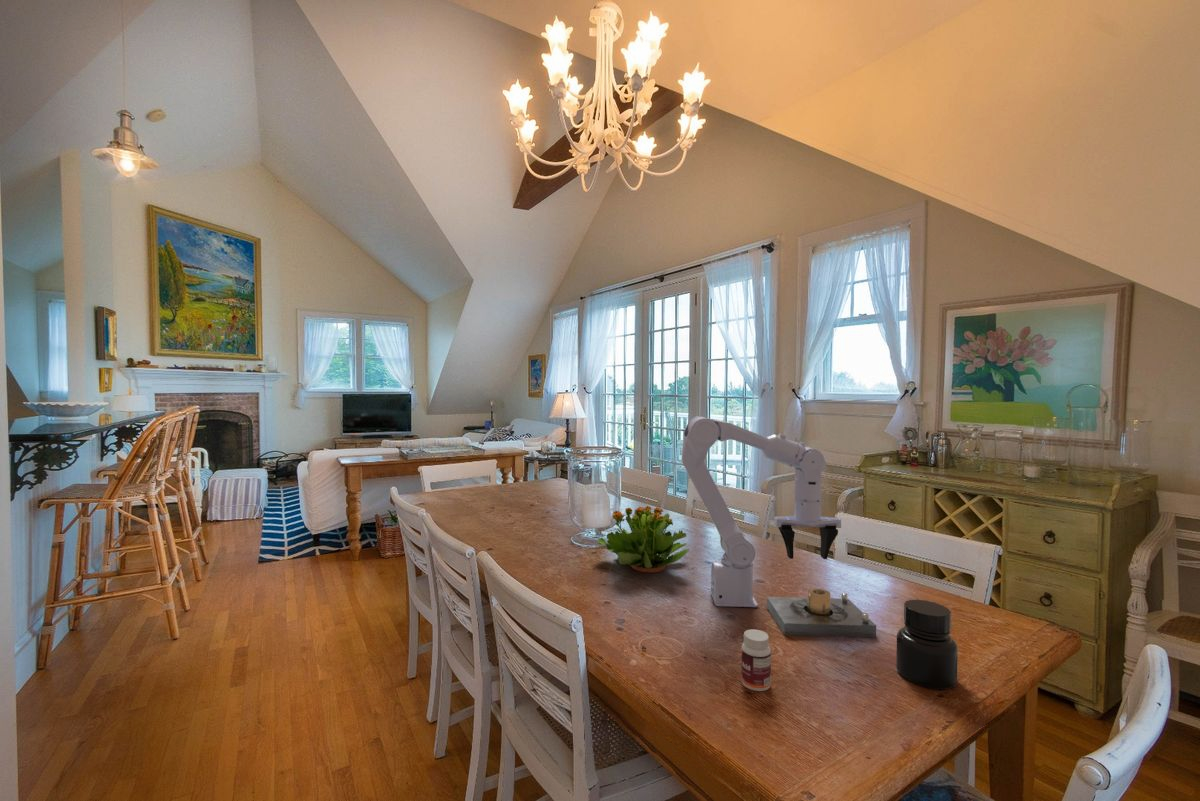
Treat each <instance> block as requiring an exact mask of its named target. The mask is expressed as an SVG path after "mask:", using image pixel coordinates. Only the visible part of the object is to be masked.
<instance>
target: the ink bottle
mask: <svg viewBox="0 0 1200 801" xmlns="http://www.w3.org/2000/svg"><path fill="white" fill-rule="evenodd" d="M903 624H904V626H902V627H901V628H899V629H898V631H897V633H896V651H895V652H896V661H895V666H896V670H897V672H898V673H899V674H900V675H901V676H902V677H904V678H905V679H907V680H908V681H911V682H912V683H914V684H917V685H919V686H921V687H924V688H927V689H933V690H948V689H952V688H954V687H955V686H956V685H957V684H958V676H959V675H958V674H959V671H958V668H959V667H958V663H959V647H958V644H957V642H956V641H955V640H954V638H952V637H951V631H952V630H951V629H952V611H951V610H950V609H949V608H948V607H946V606H945V605H942V604H940V603H937V602H934V601H930V600H922V599H908V600H905V602H904V604H903Z"/></svg>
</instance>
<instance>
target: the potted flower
mask: <svg viewBox="0 0 1200 801" xmlns="http://www.w3.org/2000/svg"><path fill="white" fill-rule="evenodd" d="M663 512H664V511H663V509H662V508H661V507H658V506H657V507H655V508H653V512H652V506H650V505H646V506H644V507H641V506H638V507H637V508H635V509H634V512H633V509H632V508H631V507H629V506H628V507H627V508H625V513H626V517H625V518H624V516H625V515H624V514H623V513H622V511H619V510H615V511H613V513H612V519H614V520H615V525H616V526H617V530H618V531H617V530H616V531H615V533H614V532H612V531H611V532H610V533H609V532H608V533H606V539H607V541H606V540H605V539H604V538H603V537H600V538H598V540H597V544H599V545H601V546H606V549H607V550H608V551H610V553H613V554H615V555H617V560H618V563H619V565H629V566H630V567H631V568H632V569H633V570H635V571H638V572H642V573H650V574H651V573H659V572H662V571H663V570H665V569H666V566H668V565H671V564H674V563H675V562H678V561H679V560H681V559H682V558H683V557H684V556H685V555H687V553H689V552H690V548H685V549H682V550H679V549H680V548H683V547H685V546H687V545H688V543H687V542H685V543H681V542H676V541H678V540H680V539H685V538H686V537H687V533H686V532H684V531H683V529H679V530H678V532H676V530H675V531H674V532H673V534H672V532H671V531H667V529H668V528H669V526H670V525H672V526H673V525H674V523H673V522H674V521H673V518H670V514H669V513H665V514H664V515H663ZM631 515H632V517H631ZM625 521H626V522H627V524H628V526H629V528H630V531H631V532H628V531H627V530H626V529H625V528H624V527H622V525H621V522H625ZM666 531H667V532H666ZM675 542H676V543H675ZM677 550H679V551H678V552H676V553H674V552H675V551H677ZM672 553H674V554H672Z"/></svg>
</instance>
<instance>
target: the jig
mask: <svg viewBox="0 0 1200 801" xmlns="http://www.w3.org/2000/svg"><path fill="white" fill-rule="evenodd" d="M840 595H841V597H840V598H835V597H834V598H831V597H830V616H827V617H824V616H816V615H811V614H809V613H807V612H808V597H789V596H786V597H782V596H778V597H777V596H767V597H766V608H767V610H768V611H769V613H770V614H771V616H772V618H773V620H774V621H775V623H776V625H777V626H778V628H779V629H780V630H781V633H782V634H783V635H784V636H802V637H803V636H806V637H809V636H810V637H835V638H837V637H840V638H841V637H843V638H845V637H846V638H872V639H873V638H877V624H876V623H874V622H873V621H872V620H871V619H870V618H869V617H870V616H869V613H866V612H863V611H862V610H861V609H859V607H857V605H856V604H854V603H853V602H852V601H851V599H849V598H848V594H847V593H845V592H844V593H843V592H842V593H841V594H840Z"/></svg>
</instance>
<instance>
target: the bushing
mask: <svg viewBox="0 0 1200 801" xmlns="http://www.w3.org/2000/svg"><path fill="white" fill-rule="evenodd" d="M807 598H808V612H807V613H809V614H811V615H816V616H824V617H827V616H830V598H831V592H830V591H829V590H826V589H824V588H819V587H811V588H808V589H807Z"/></svg>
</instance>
